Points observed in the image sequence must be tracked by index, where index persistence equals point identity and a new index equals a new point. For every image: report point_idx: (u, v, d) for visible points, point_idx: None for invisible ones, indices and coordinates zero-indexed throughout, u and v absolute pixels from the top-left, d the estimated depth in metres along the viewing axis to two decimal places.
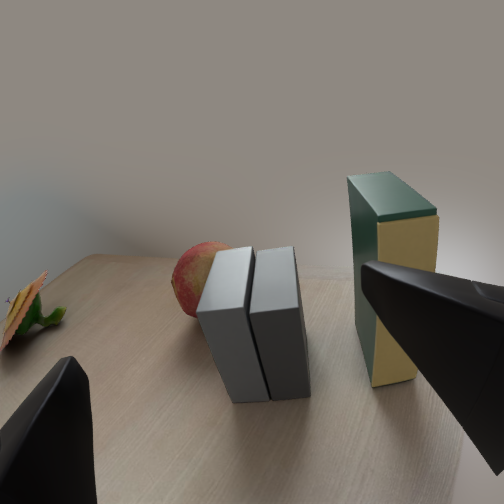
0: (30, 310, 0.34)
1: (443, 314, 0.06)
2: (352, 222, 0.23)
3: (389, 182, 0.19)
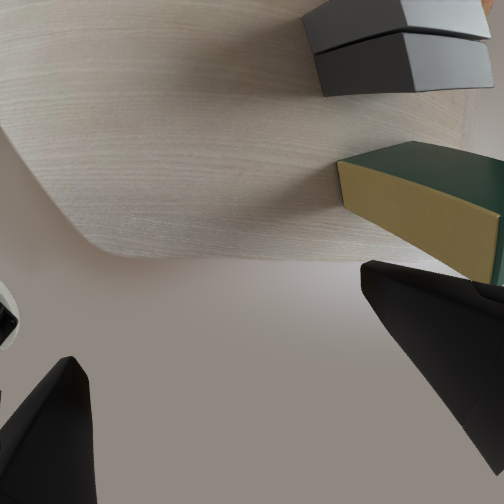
0: None
1: (443, 314, 0.06)
2: None
3: None
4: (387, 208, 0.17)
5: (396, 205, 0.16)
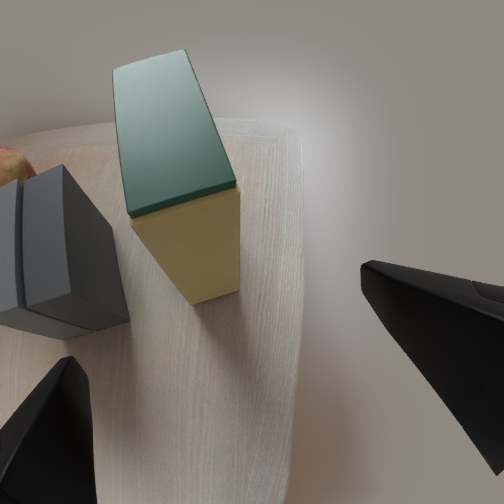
0: None
1: (443, 314, 0.06)
2: None
3: (172, 85, 0.11)
4: (212, 276, 0.17)
5: (202, 274, 0.16)
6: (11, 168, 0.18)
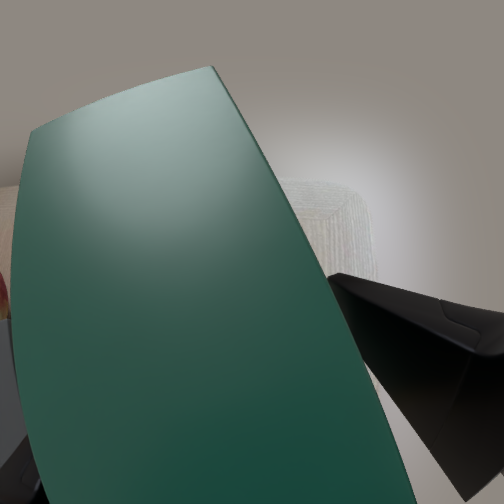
0: None
1: (404, 336, 0.06)
2: None
3: (186, 193, 0.03)
4: None
5: None
6: None
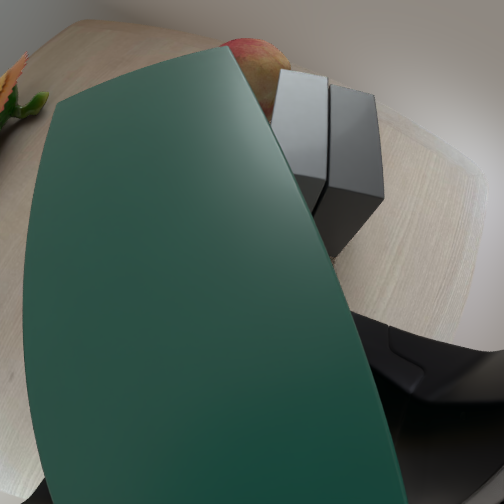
0: (5, 106, 0.23)
1: None
2: None
3: (193, 152, 0.04)
4: None
5: None
6: (283, 65, 0.21)
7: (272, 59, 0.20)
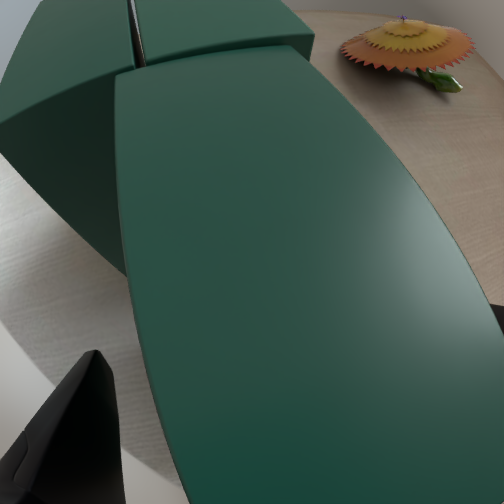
0: None
1: None
2: None
3: (304, 125, 0.04)
4: None
5: None
6: None
7: None
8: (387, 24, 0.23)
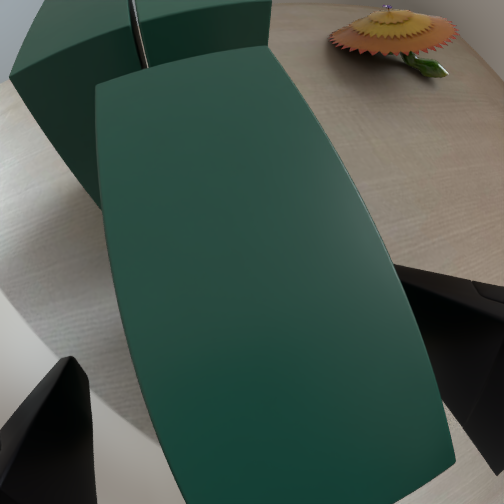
0: None
1: (443, 314, 0.06)
2: None
3: (267, 150, 0.04)
4: None
5: None
6: None
7: None
8: (373, 13, 0.24)
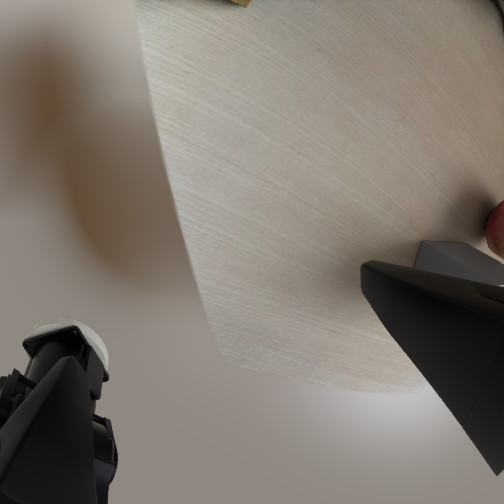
0: None
1: (443, 314, 0.06)
2: None
3: None
4: None
5: None
6: None
7: None
8: None
